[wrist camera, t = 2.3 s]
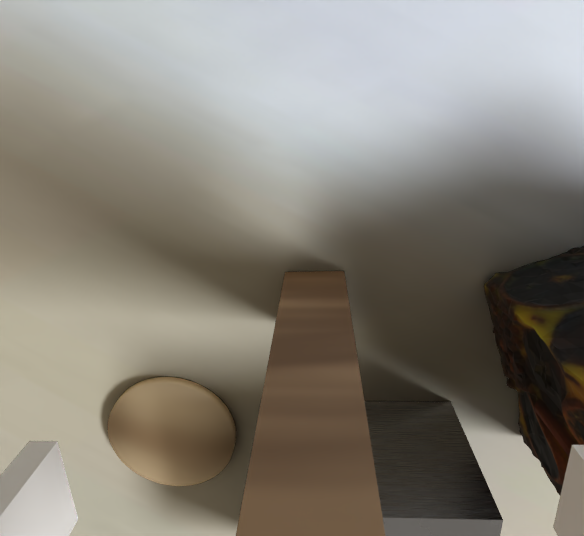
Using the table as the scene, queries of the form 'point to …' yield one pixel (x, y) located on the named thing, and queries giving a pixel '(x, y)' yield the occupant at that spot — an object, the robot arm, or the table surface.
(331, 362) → the dowel
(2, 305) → the table surface
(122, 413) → the coaster
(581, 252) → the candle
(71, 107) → the table surface
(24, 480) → the robot arm
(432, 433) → the box
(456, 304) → the table surface
